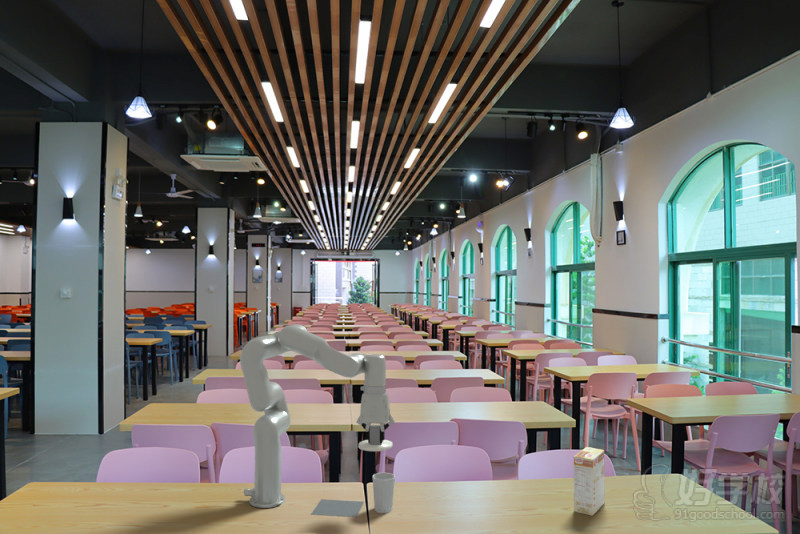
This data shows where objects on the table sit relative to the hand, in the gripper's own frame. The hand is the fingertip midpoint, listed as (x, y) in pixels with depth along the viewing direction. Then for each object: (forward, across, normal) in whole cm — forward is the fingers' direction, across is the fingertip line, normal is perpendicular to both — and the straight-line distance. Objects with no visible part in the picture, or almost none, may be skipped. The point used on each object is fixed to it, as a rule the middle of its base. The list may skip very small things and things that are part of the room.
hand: (375, 441), depth 202 cm
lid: (+2, 0, 0) cm, 2 cm away
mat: (+24, -14, -1) cm, 27 cm away
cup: (+24, +2, 0) cm, 24 cm away
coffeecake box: (+26, +76, +14) cm, 81 cm away
